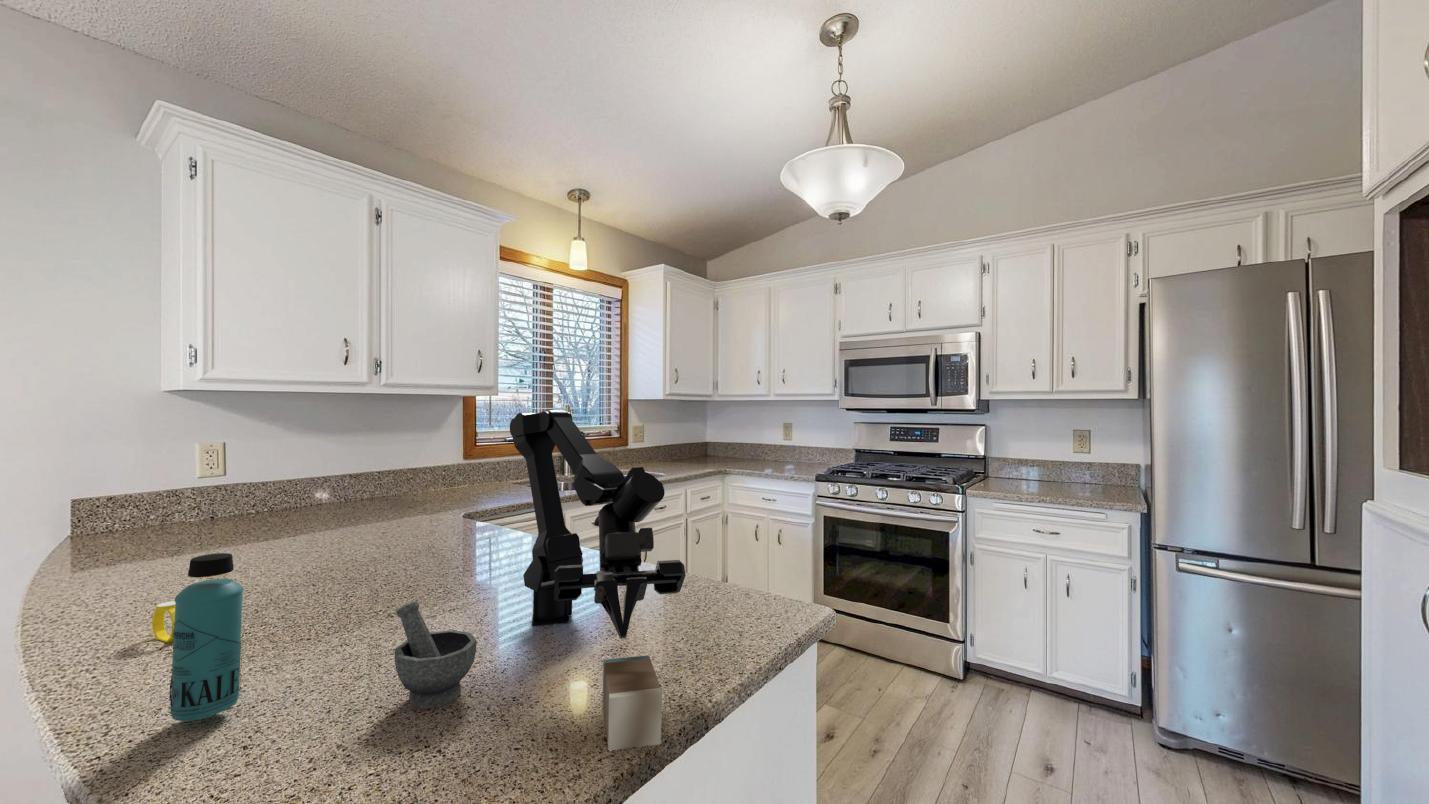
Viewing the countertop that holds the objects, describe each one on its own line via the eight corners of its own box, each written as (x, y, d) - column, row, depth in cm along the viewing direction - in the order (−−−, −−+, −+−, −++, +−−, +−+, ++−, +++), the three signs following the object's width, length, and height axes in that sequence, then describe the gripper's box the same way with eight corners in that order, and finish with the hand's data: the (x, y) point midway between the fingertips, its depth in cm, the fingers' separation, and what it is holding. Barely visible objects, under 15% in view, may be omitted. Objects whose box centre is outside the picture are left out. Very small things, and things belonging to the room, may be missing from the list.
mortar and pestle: (489, 685, 77) (492, 599, 77) (438, 721, 68) (441, 623, 68) (424, 673, 80) (426, 590, 81) (367, 705, 71) (370, 612, 72)
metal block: (602, 705, 72) (608, 751, 63) (603, 659, 72) (609, 698, 63) (648, 700, 74) (660, 744, 64) (649, 655, 74) (662, 692, 64)
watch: (146, 642, 90) (146, 604, 90) (168, 635, 92) (168, 599, 93) (167, 645, 88) (167, 607, 88) (189, 639, 90) (189, 602, 91)
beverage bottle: (198, 706, 71) (204, 548, 71) (254, 704, 71) (259, 548, 71) (151, 736, 64) (157, 562, 64) (212, 734, 65) (218, 562, 65)
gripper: (556, 509, 79) (552, 616, 68) (684, 506, 84) (700, 605, 73) (555, 551, 86) (552, 652, 76) (673, 545, 91) (685, 640, 81)
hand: (623, 637), depth 76 cm, fingers closed
